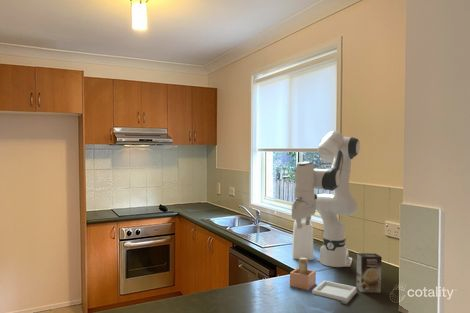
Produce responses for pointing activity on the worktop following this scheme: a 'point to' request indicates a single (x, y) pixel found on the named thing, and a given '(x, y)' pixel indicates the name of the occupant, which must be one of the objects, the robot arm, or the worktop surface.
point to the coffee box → (368, 272)
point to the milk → (302, 241)
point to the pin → (303, 266)
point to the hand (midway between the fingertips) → (303, 226)
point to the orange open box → (303, 279)
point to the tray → (335, 291)
